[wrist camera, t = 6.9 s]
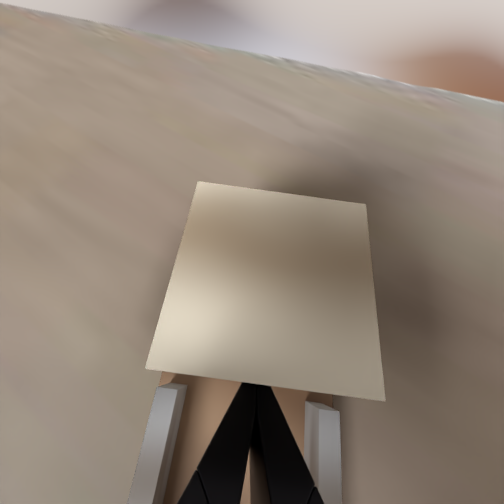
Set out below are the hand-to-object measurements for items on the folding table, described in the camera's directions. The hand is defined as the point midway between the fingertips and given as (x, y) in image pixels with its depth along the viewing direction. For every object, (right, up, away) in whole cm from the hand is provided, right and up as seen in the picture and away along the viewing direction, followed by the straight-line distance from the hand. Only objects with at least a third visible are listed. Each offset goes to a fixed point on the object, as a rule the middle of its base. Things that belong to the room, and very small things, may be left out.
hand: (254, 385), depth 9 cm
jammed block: (0, 0, +7) cm, 7 cm away
